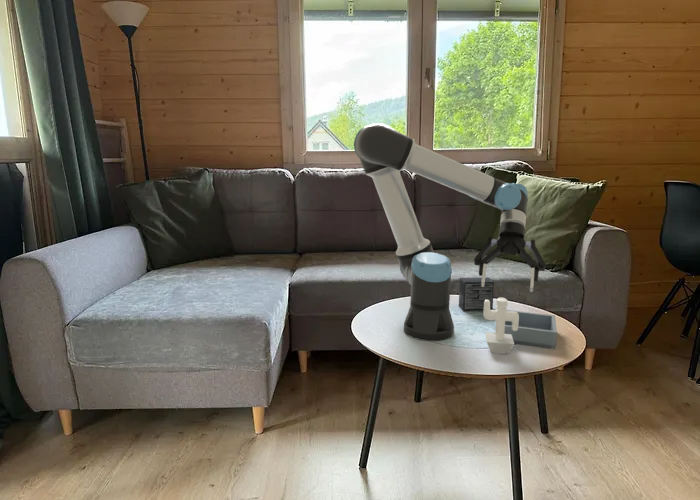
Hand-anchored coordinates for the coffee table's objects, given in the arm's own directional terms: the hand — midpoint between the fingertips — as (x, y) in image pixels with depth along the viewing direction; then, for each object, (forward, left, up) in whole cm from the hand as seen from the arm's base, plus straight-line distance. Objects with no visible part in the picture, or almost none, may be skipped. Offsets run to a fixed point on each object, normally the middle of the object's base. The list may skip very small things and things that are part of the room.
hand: (506, 287), depth 146 cm
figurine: (-1, -10, -16) cm, 19 cm away
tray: (+6, +4, -16) cm, 17 cm away
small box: (-11, +25, -16) cm, 32 cm away
